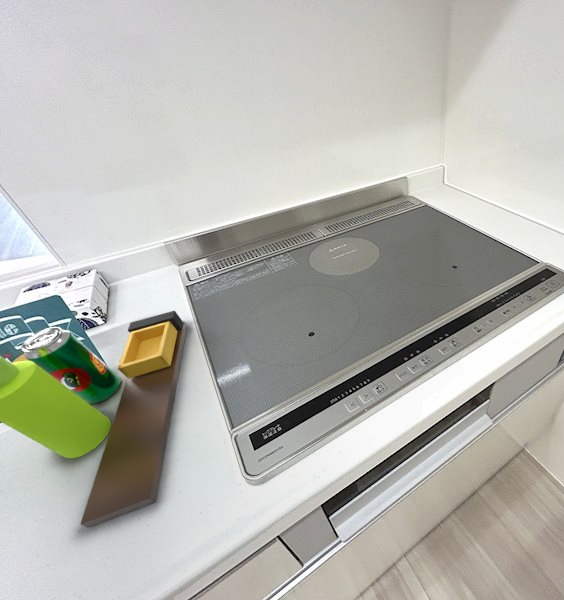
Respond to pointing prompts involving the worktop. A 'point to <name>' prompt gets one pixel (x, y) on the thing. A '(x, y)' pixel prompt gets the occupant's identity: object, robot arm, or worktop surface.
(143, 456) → the board
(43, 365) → the soda can
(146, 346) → the tray
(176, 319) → the end stop
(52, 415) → the soap dispenser
